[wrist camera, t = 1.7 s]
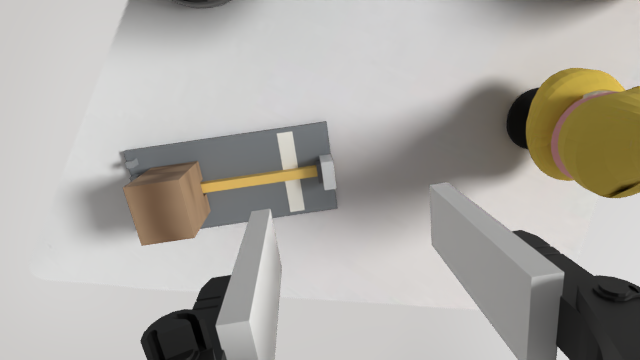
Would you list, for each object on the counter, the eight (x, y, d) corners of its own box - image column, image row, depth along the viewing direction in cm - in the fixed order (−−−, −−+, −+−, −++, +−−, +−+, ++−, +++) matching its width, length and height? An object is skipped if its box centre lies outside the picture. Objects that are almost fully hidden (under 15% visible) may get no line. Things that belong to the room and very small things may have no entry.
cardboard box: (166, 217, 48) (141, 245, 40) (151, 167, 45) (122, 187, 38) (210, 210, 48) (194, 237, 40) (198, 160, 46) (178, 179, 38)
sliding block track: (152, 233, 49) (139, 249, 45) (126, 150, 46) (108, 158, 41) (337, 206, 50) (340, 219, 46) (326, 121, 46) (328, 127, 42)
